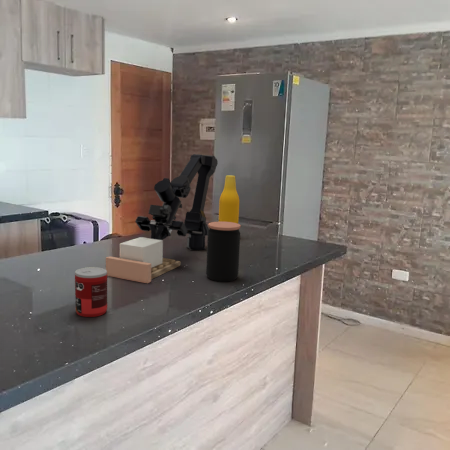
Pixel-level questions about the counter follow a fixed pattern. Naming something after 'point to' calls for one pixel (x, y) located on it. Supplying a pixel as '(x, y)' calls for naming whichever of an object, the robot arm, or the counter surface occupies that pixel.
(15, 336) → the counter surface
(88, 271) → the canned food
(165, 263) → the roller bed
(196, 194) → the robot arm
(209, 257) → the coffee jar
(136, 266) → the brick stop
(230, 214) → the beer bottle
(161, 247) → the white box on pallet
